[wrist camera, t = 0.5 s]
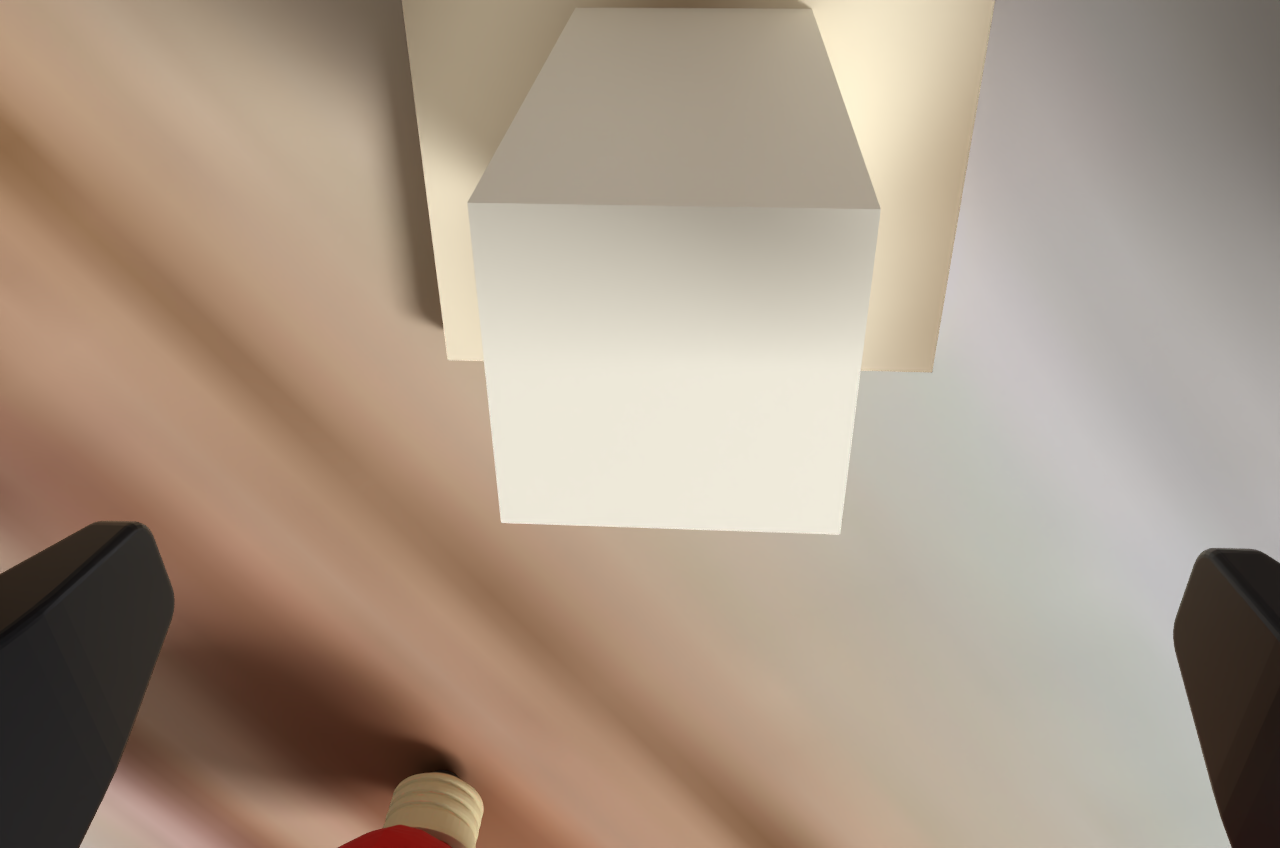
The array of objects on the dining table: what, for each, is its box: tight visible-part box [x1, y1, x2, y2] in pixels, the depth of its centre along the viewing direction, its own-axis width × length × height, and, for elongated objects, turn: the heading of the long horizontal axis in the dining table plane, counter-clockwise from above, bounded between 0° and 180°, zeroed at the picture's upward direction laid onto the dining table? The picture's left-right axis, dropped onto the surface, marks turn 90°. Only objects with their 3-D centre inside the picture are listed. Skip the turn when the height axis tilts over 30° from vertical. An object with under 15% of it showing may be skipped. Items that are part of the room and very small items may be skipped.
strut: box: [467, 8, 881, 535], centre depth 15 cm, size 4×4×9 cm
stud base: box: [402, 0, 995, 372], centre depth 17 cm, size 10×10×5 cm
